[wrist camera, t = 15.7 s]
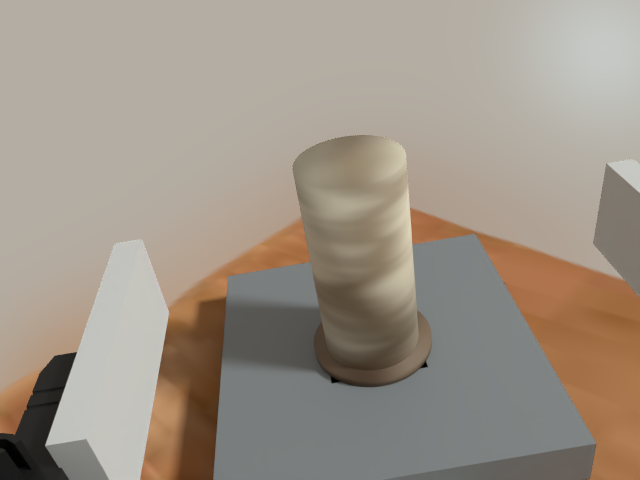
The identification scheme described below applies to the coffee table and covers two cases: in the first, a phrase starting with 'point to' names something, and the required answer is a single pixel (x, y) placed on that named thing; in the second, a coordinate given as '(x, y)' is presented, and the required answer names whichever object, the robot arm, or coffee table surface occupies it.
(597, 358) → the coffee table surface
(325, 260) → the ash leg
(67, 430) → the robot arm
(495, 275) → the leg board
